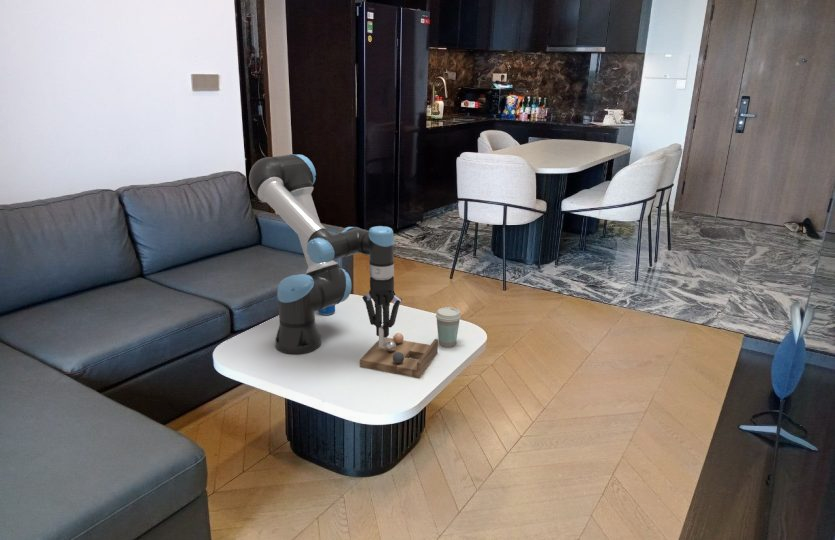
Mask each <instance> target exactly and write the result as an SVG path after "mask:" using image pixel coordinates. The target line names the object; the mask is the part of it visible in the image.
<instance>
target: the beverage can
mask: <svg viewBox="0 0 835 540" xmlns="http://www.w3.org/2000/svg"><path fill="white" fill-rule="evenodd" d="M317 312H318V313H319V314H320V315H322V314H323V315H322V316H331V315H333V314H334V313H335V312H336V305H332V306H329V307H326V308H324V309H321V310H318V311H317ZM332 313H333V314H332ZM330 314H331V315H330Z"/></svg>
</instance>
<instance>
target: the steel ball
mask: <svg viewBox="0 0 835 540" xmlns="http://www.w3.org/2000/svg"><path fill="white" fill-rule="evenodd" d="M385 348H386V350H387V351H389V352H392V351H394V350H395V349H396V344H395V342H393V341H388V342H387V343H386V345H385Z"/></svg>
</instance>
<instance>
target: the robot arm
mask: <svg viewBox="0 0 835 540" xmlns="http://www.w3.org/2000/svg"><path fill="white" fill-rule="evenodd" d="M316 176H317V173H316V168H315V166H314V164H313V162H312V161H311V160H310V158H308V157H307V156H305V155H303V154H293V153H292V154H291V153H290V154H286V155H278V156H266V157H263V158H260V159H258V160H257V161H255V162H254V164H253V165H252V166H251V169H250V171H249V175H248V181H249V186H250V188H251V190H252V192H253V194H254V195H255V196H256V198H258V200H259V201H261V202H262V203H266V204H267V205H269V206H270V208H271V209H273V210H274V212H276V214H277V215H278V216H279V217H280V218H281V219H282V220H283V221H284V222H285V223H286V224H287V225H288V226H289V227H290V228H291V229H292V230H293V231H294V232H295V233H296V234H297V237H298V239H299V243H300V246H301V249H302V252H303V254H304V259H305V261H306V264H307V270H306V271H305V274H304V273H301V274H300V273H299V274H292V275H289V276H287V277H285V278H283V279H282V280H280V282H278V285H277V294H276V297H277V303H278V306H277V307H278V317H279V318H278V319H279V320H278V321H279V325H278V329H277V333H276V336H275V342H274V343H275V348H276V350H277V351H279V352H280V353H283V354H289V355H300V354H303V355H304V354H307V353H310V352H314V351H315V350H317V349H318V348H319V347H320V346H321V345H322V338H321V337H322V336H321V334H320V331H319V328H318V327H317V324H316V318H315V317H316V316H315V315H316V314H315V313H316V312H318V310H321V309H324V308H326V307H329V306H332V305H335V306H336V305H339V304H340V303H342V302H345V301H346V300H347V299H349V297H350V295H351V294H350V293H351V291H352V280H351V277H350V275H349V273H348V272H347V271H346V270H345V269H344V268H340V266H339V263H338V262H337V261H335V260H338V259H342V258H345V257H350V256H352V255H353V256H354V255H357V254H362V255H365V256H368V257H369V276H370V278H369V291H368V293H366V294H364V295H363V296H362V300H363V302H364V304H365V306H366V307H365V308H366V310H367V315H368V319H369V324H370V325H371V326H375V328H376V329H375V330H376V332H375V334H376V336H377V337H378V340H379V347H384V346H385V345H386V343H387V342H386V338H389V337H388V336H389V335H390V328H392V327H393V326H394V325H395V323H396V319H397V314H398V311H399V307H400V305H401V304H402V302H403V299H402V298H401V297H397V296H396V292H395V278H394V275H395V263H394V262H395V261H394V260H395V257H394V255H395V253H394V251H395V250H394V249H395V247H394V246H395V240H394V239H395V238H394V230H393V229H392V227H389V226H385V225H384V226H383V225H378V226H377V225H376V226H372V227H370V228H369V230H367V229H363V228H360V227H358V226H347V227H345V228H344V229H343V230H342V231H341V232H339V233H335V234H332V233H331V232H330V231H329V230H328V229H327V228H326V227H325V226H324V225H323V224H322V223H321V221H320V218H319V216H318V213H317V209H316V206H315V203H314V200H313V196H312V193H313V191H314V186H313V185H314V184H315V183H316ZM392 301H393V302H392ZM373 303H374V304H373ZM391 303H393V306H392V308H391V312H390V304H391Z"/></svg>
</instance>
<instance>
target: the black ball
mask: <svg viewBox="0 0 835 540" xmlns="http://www.w3.org/2000/svg"><path fill="white" fill-rule="evenodd" d="M403 360H404V355H403V354H402V353H401V352H396V353H395V354H394V355H393V361H394V362H395V363H401V362H403Z"/></svg>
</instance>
